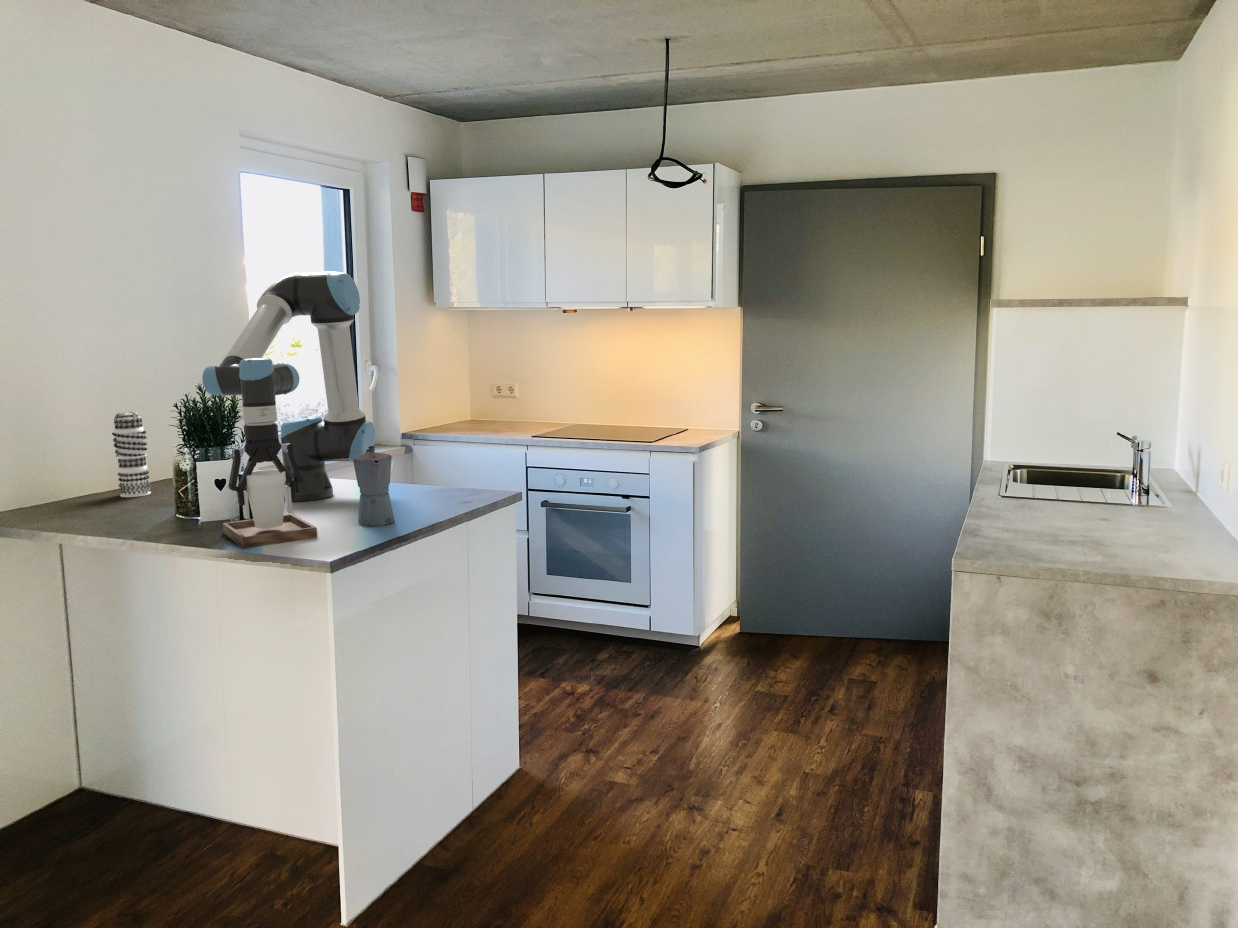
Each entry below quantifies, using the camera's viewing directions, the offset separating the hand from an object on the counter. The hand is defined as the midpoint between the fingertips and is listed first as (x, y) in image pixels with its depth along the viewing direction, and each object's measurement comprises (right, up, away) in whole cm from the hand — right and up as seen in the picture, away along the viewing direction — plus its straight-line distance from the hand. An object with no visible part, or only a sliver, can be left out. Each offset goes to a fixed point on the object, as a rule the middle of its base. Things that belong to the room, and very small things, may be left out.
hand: (268, 515), depth 232 cm
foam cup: (0, -3, 0) cm, 3 cm away
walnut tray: (0, -5, +1) cm, 5 cm away
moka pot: (+23, -3, +13) cm, 26 cm away
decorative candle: (-62, +3, +59) cm, 86 cm away
